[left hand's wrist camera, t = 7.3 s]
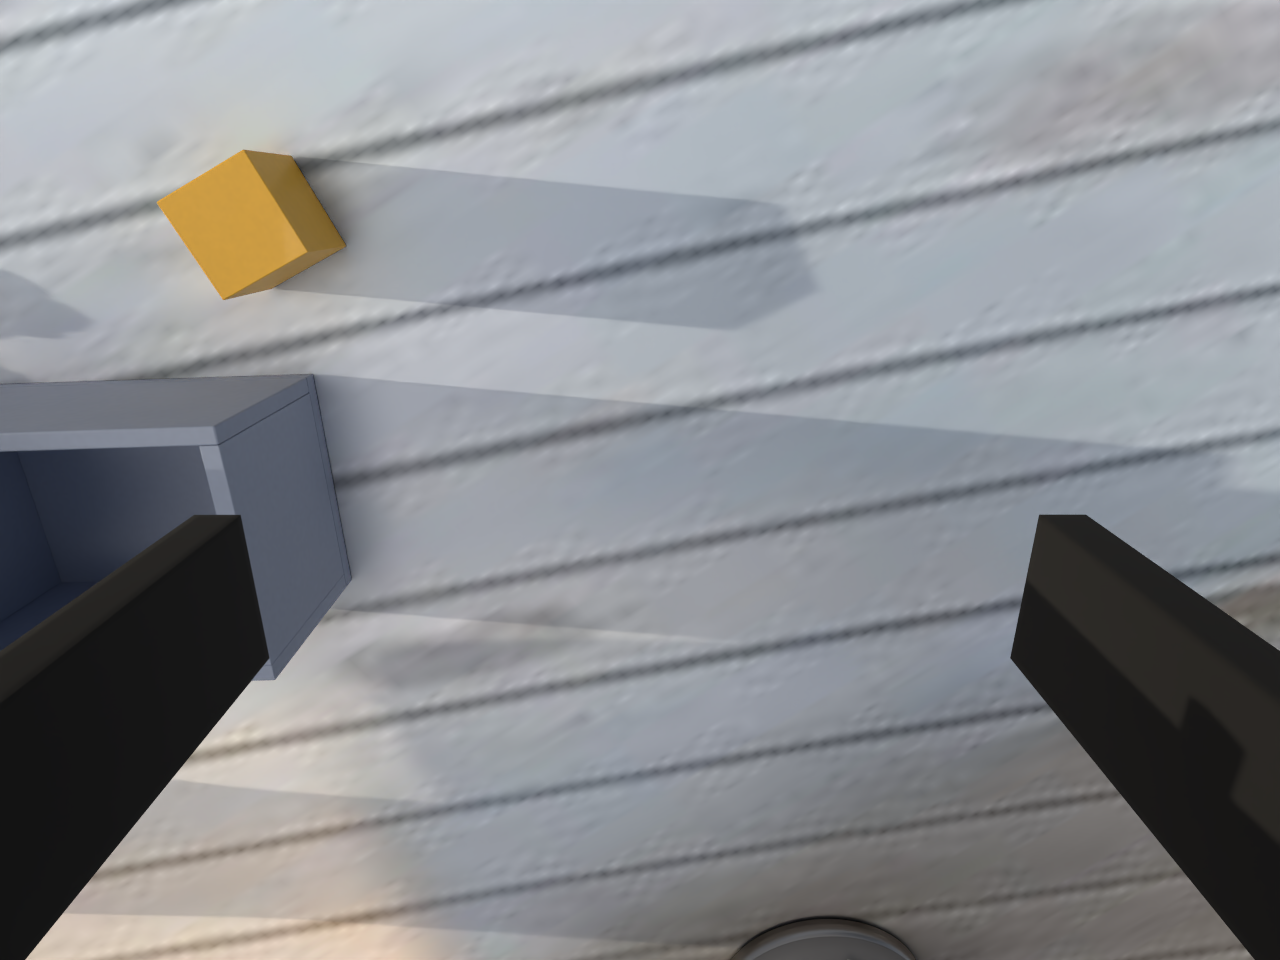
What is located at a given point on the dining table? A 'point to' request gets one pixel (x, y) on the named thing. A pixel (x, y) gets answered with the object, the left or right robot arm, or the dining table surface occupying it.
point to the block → (252, 222)
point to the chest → (167, 491)
